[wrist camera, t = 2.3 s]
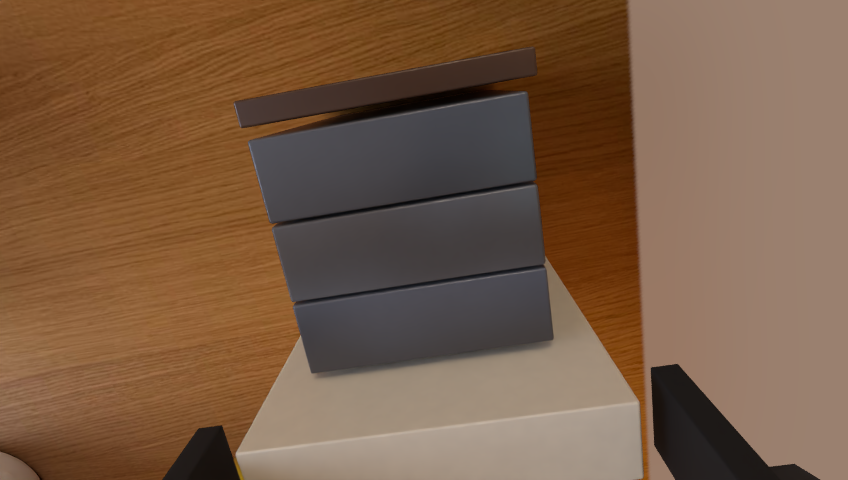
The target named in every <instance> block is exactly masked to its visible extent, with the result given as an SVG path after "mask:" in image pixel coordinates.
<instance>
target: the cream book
mask: <svg viewBox="0 0 848 480" xmlns="http://www.w3.org/2000/svg"><path fill="white" fill-rule="evenodd" d="M545 259H546V262H545V264H544V266H545V268H546V269H547V277H548V287H549V296H550V306H551V315H552V324H553V334H554V339H553V340H551V341H544V342H536V343H529V344H522V345H515V346H508V347H500V348H493V349H486V350H479V351H472V352H465V353H457V354H450V355H443V356H436V357H429V358H421V359H414V360H407V361H400V362H393V363H386V364H378V365H371V366H364V367H357V368H350V369H342V370H335V371H328V372H321V373H314V374H312V373H311V371H310V368H309V364H308V360H307V357H306V353H305V349H304V346H303V342H302V338H301V336H300V338H299V340H298V341H297V343H296V345H295V347H294V349H293V351H292V352H291V354H290V356H289V358H288V360H287V361H286V363H285V365H284V367H283V369H282V370H281V372H280V374H279V376H278V378H277V379H276V381H275V383H274V385H273V387H272V389H271V390H270V392H269V394H268V396H267V398H266V399H265V401H264V403H263V405H262V407H261V408H260V410H259V412H258V414H257V416H256V418H255V419H254V421H253V423H252V425H251V427H250V428H249V430H248V432H247V434H246V436H245V437H244V439H243V441H242V443H241V445H240V446H239V448H238V450H237V452H236V458H237V461H238V464H239V467H240V470H241V472H242V475H243V478H244V480H635V479H642V478H643V477H644V473H643V454H642V435H641V415H640V402H639V401H638V399H637V397H636V396H635V394H634V393H633V391H632V390H631V388H630V387H629V385H628V383H627V382H626V380H625V379H624V377H623V376H622V374H621V373H620V371H619V370H618V368H617V366H616V365H615V363H614V362H613V360H612V359H611V357H610V356H609V354H608V352H607V351H606V349H605V348H604V346H603V345H602V343H601V342H600V340H599V338H598V337H597V335H596V334H595V332H594V331H593V329H592V328H591V326H590V325H589V323H588V321H587V320H586V318H585V317H584V315H583V314H582V312H581V311H580V309H579V307H578V306H577V304H576V303H575V301H574V300H573V298H572V297H571V295H570V293H569V292H568V290H567V289H566V287H565V286H564V284H563V283H562V281H561V280H560V278H559V276H558V275H557V273H556V272H555V270H554V269H553V267H552V266H551V264H550V262H549V261H548V259H547V258H546V256H545Z"/></svg>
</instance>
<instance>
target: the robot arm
mask: <svg viewBox="0 0 848 480" xmlns="http://www.w3.org/2000/svg"><path fill="white" fill-rule="evenodd" d="M651 382H652V404H653V426H654V445H655V447H656V449H657V451H658V452H659V454H660V455H661V457H662V459H663V460H664V462H665V464H666V465H667V467H668V468H669V470H670V472H671V473H672V475H673V477H674V478H675V480H820V479H818V478H817V477H815V476H813V475H812V474H810V473H808V472H807V471H805V470H803V469H802V468H800V467H799V466H797V465H795V464H790V465H782V466H773V467H768V465H767V464H766V463H765V462H764V461H763V460H762V459H761V458H760V456H759V455H758V454H757V453H756V452H755V451H754V450H753V448H752V447H751V446H750V445H749V444H748V443H747V442H746V441H745V439H744V438H743V437H742V436H741V435H740V434H739V433H738V432H737V431H736V429H735V428H734V427H733V426H732V425H731V424H730V423H729V421H728V420H727V419H726V418H725V417H724V416H723V415H722V414H721V412H720V411H719V410H718V409H717V408H716V407H715V406H714V405H713V403H712V402H711V401H710V400H709V399H708V398H707V397H706V395H705V394H704V393H703V392H702V391H701V390H700V389H699V388H698V386H697V385H696V384H695V383H694V382H693V381H692V380H691V379H690V378H689V376H688V375H687V374H686V373H685V372H684V371H683V370H682V368H681V367H680V366H679V365H678V364H674V365H666V366H660V367H652V368H651ZM163 480H240V477H239V474H238V471H237V468H236V465H235V462H234V459H233V457H232V454H231V451H230V448H229V445H228V442H227V439H226V436H225V433H224V430H223V427H222V426H214V427H207V428H199V429H198V430H197V431H196V433H195V434H194V436H193V437H192V438H191V440H190V441H189V443H188V444H187V446H186V447H185V448H184V450H183V451H182V453H181V454H180V455H179V457H178V458H177V460H176V461H175V463H174V464H173V465H172V467H171V468H170V470H169V471H168V472H167V474H166V475H165V477H164V478H163Z"/></svg>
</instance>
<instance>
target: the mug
mask: <svg viewBox="0 0 848 480" xmlns="http://www.w3.org/2000/svg"><path fill="white" fill-rule="evenodd" d="M0 480H40V478H39V477H38V475H37V474H36V473H35V472H34V471H33V470H32V469H31V468H30V467H29V466H28V465H27V464H25V463H24V462H23V461H21V460H19V459H18V458H16V457H13V456H11V455H9V454H6V453H3V452H0Z"/></svg>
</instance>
